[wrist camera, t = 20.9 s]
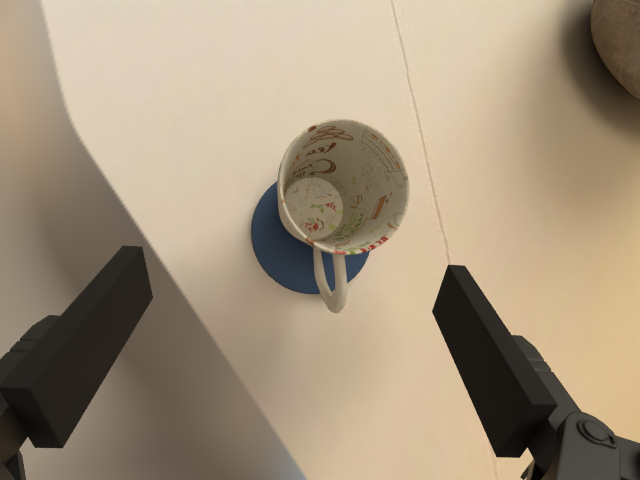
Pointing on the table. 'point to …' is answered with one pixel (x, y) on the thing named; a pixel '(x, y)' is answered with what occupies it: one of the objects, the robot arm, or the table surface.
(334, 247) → the mug
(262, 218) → the coaster
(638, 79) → the bowl
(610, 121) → the table surface
